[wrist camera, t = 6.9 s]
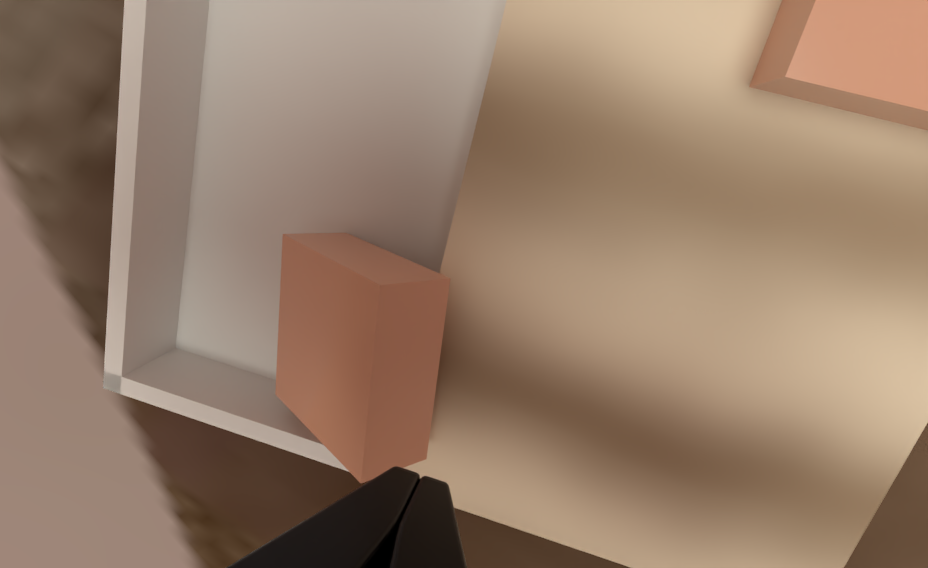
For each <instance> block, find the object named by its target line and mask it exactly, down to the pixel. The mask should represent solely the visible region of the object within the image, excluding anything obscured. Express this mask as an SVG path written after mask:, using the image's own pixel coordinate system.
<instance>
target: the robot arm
mask: <svg viewBox="0 0 928 568" xmlns="http://www.w3.org/2000/svg"><path fill="white" fill-rule="evenodd" d="M227 568H467V565H466V561H465V556H464V552H463V547H462V543H461V538H460V534H459V529H458V524H457V520H456V515H455V511H454V506H453V502H452V497H451V493H450V488H449V485H448V484H447V483H446V482H444V481H441V480H438V479H435V478H432V477H429V476H423V477H421V478H420V475H419V474H418V473H417V472H414V471H411V470H408V469H405V468H402V467H398V466H395V467H392V468H390V469H389V470H387V471H385V472H384V473H382V474H380V475H379V476H377V477H375V478H374V479H372V480H370V481H369V482H367V483H365V484H364V485H362V486H360V487H359V488H357V489H355V490H354V491H352V492H350V493H349V494H347V495H346V496H344V497H342V498H341V499H339V500H337V501H336V502H334V503H332V504H331V505H329V506H327V507H326V508H324V509H322V510H321V511H319V512H317V513H316V514H314V515H312V516H311V517H309V518H308V519H306V520H304V521H303V522H301V523H299V524H298V525H296V526H294V527H293V528H291V529H289V530H288V531H286V532H284V533H283V534H281V535H279V536H278V537H276V538H274V539H273V540H271V541H269V542H268V543H266V544H265V545H263V546H261V547H260V548H258V549H256V550H255V551H253V552H251V553H250V554H248V555H246V556H245V557H243V558H241V559H240V560H238V561H236V562H235V563H233V564H231V565H230V566H228V567H227Z"/></svg>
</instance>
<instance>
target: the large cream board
mask: <svg viewBox="0 0 928 568" xmlns="http://www.w3.org/2000/svg"><path fill="white" fill-rule="evenodd" d="M781 2H782V0H507V1H506V5H505V9H504V13H503V17H502V21H501V25H500V29H499V33H498V37H497V41H496V45H495V49H494V53H493V58H492V62H491V66H490V70H489V74H488V78H487V82H486V86H485V90H484V94H483V98H482V102H481V106H480V110H479V114H478V119H477V123H476V127H475V131H474V135H473V139H472V143H471V147H470V151H469V155H468V159H467V163H466V167H465V171H464V175H463V179H462V184H461V188H460V192H459V196H458V200H457V204H456V208H455V212H454V216H453V220H452V224H451V228H450V232H449V236H448V240H447V244H446V249H445V253H444V257H443V261H442V265H441V269H440V273H439V274H442V275H444V276H446V277H449V278H450V286H449V293H448V301H447V308H446V316H445V323H444V331H443V338H442V346H441V354H440V361H439V369H438V376H437V384H436V391H435V399H434V406H433V414H432V421H431V429H430V437H429V444H428V452H427V459H425V460H423V461H420V462H417V463H415V464H412V465H409V466H407V467H404V468H405V469H408V470H411V471H414V472H417V473H418V474H419V475H420V478H421V477H423V476H429V477H432V478H435V479H438V480H441V481H444V482H446V483H447V484H448V485H449V488H450V493H451V497H452V502H453V506H454V508H457V509H460V510H463V511H466V512H469V513H472V514H475V515H478V516H481V517H484V518H487V519H490V520H493V521H495V522H498V523H501V524H504V525H507V526H510V527H513V528H516V529H519V530H522V531H525V532H528V533H531V534H534V535H537V536H540V537H543V538H545V539H548V540H551V541H554V542H557V543H560V544H563V545H566V546H569V547H572V548H575V549H578V550H581V551H584V552H587V553H590V554H592V555H595V556H598V557H601V558H604V559H607V560H610V561H613V562H616V563H619V564H622V565H625V566H628V567H631V568H844V566H845V564H846V563H847V561H848V559H849V557H850V556H851V554H852V552H853V550H854V549H855V547H856V545H857V544H858V542H859V540H860V538H861V537H862V535H863V533H864V531H865V530H866V528H867V526H868V525H869V523H870V521H871V519H872V518H873V516H874V514H875V512H876V511H877V509H878V507H879V505H880V504H881V502H882V500H883V499H884V497H885V495H886V493H887V492H888V490H889V488H890V486H891V485H892V483H893V481H894V480H895V478H896V476H897V474H898V473H899V471H900V469H901V467H902V466H903V464H904V462H905V461H906V459H907V457H908V455H909V454H910V452H911V450H912V448H913V447H914V445H915V443H916V442H917V440H918V438H919V436H920V435H921V433H922V431H923V429H924V428H925V426H926V424H927V423H928V130H924V129H919V128H915V127H911V126H907V125H903V124H899V123H895V122H891V121H887V120H882V119H878V118H874V117H870V116H866V115H862V114H858V113H854V112H850V111H845V110H841V109H837V108H833V107H829V106H825V105H821V104H817V103H813V102H809V101H804V100H800V99H796V98H792V97H788V96H784V95H780V94H776V93H772V92H767V91H763V90H759V89H755V88H751V87H749V85H750V83H751V80H752V77H753V75H754V72H755V70H756V67H757V64H758V62H759V59H760V57H761V54H762V51H763V49H764V46H765V44H766V41H767V38H768V36H769V33H770V31H771V28H772V25H773V23H774V20H775V17H776V15H777V12H778V10H779V7H780V4H781Z"/></svg>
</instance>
